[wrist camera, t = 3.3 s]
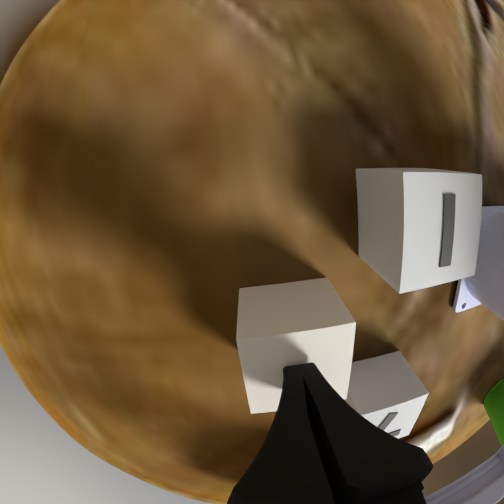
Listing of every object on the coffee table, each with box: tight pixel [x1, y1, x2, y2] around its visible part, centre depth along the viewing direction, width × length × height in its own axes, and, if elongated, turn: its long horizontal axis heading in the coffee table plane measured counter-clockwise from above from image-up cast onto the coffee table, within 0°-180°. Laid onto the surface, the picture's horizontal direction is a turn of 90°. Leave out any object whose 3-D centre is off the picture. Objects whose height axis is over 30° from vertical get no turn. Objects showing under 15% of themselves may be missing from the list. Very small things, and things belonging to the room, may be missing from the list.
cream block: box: [236, 278, 356, 414], centre depth 14 cm, size 5×5×5 cm
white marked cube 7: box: [345, 351, 429, 438], centre depth 16 cm, size 5×5×5 cm
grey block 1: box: [355, 168, 482, 294], centre depth 12 cm, size 5×5×5 cm
